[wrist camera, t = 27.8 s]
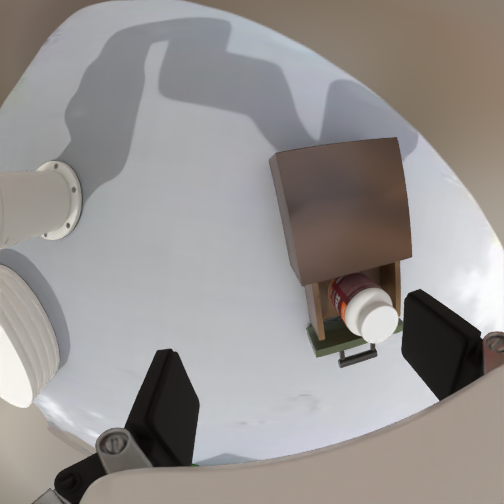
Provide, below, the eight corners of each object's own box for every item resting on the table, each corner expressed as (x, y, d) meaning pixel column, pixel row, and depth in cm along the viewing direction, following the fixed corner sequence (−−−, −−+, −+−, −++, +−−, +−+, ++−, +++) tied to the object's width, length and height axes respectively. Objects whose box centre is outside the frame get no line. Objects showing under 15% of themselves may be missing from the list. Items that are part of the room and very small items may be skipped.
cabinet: (383, 243, 37) (412, 257, 30) (290, 265, 38) (302, 286, 30) (368, 144, 34) (397, 137, 26) (268, 159, 34) (275, 152, 26)
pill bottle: (318, 283, 36) (345, 321, 26) (355, 258, 36) (394, 287, 25) (338, 315, 38) (366, 358, 27) (372, 292, 37) (410, 327, 26)
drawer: (385, 336, 40) (402, 356, 34) (310, 358, 41) (319, 383, 35) (381, 229, 36) (403, 238, 30) (292, 249, 36) (302, 262, 30)
